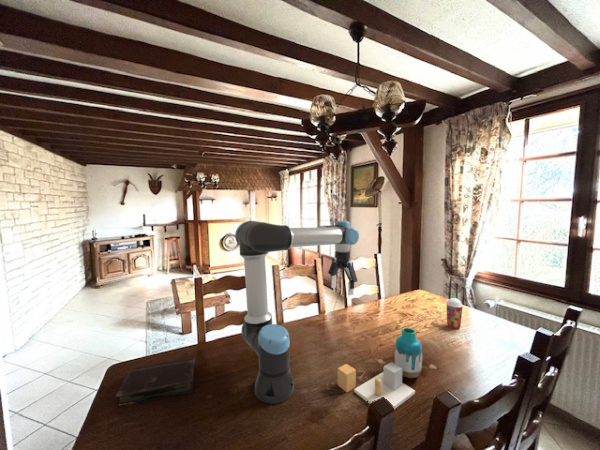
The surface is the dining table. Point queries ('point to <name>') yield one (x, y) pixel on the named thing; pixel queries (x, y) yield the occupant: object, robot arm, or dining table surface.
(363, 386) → the plate
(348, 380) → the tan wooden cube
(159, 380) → the diary
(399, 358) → the vase
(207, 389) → the dining table surface
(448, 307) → the smoothie
